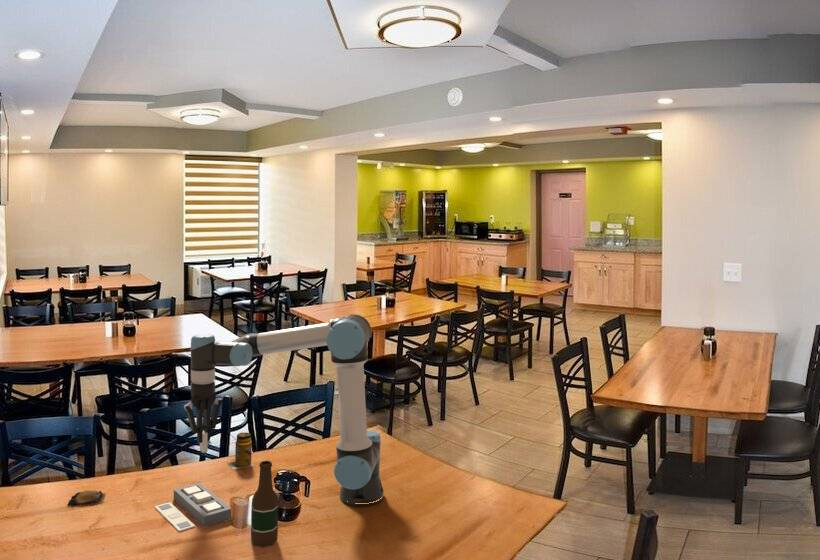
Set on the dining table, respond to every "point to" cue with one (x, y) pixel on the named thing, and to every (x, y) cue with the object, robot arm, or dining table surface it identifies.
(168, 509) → the pattern card
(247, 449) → the condiment
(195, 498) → the middle button
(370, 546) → the dining table surface
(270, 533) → the beer bottle
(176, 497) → the console
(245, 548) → the dining table surface
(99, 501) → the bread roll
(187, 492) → the button
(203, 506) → the button
